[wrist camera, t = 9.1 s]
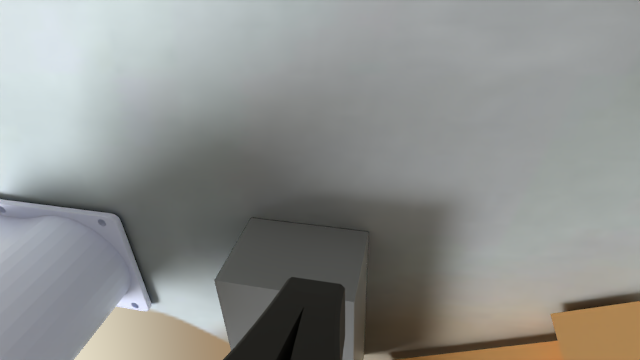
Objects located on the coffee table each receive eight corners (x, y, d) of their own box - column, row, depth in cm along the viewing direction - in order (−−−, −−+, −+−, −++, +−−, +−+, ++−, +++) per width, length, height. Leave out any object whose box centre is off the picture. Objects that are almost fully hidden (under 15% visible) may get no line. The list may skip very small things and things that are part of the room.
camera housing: (269, 338, 28) (237, 422, 23) (250, 217, 22) (204, 297, 18) (363, 355, 26) (349, 447, 22) (368, 231, 21) (350, 321, 17)
